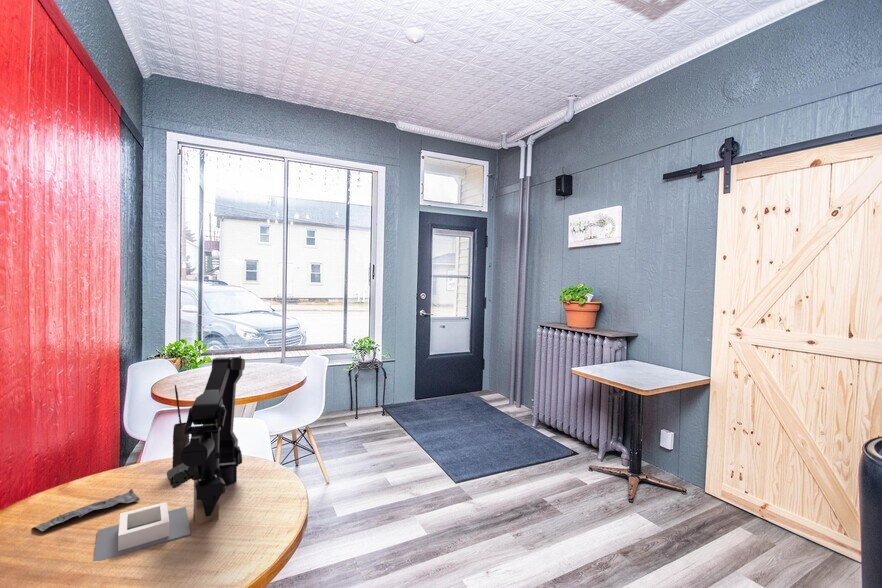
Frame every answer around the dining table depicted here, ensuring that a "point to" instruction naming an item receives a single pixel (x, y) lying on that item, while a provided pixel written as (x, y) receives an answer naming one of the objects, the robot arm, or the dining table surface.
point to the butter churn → (179, 437)
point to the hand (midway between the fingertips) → (206, 508)
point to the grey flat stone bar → (90, 509)
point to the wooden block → (199, 510)
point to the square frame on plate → (141, 530)
